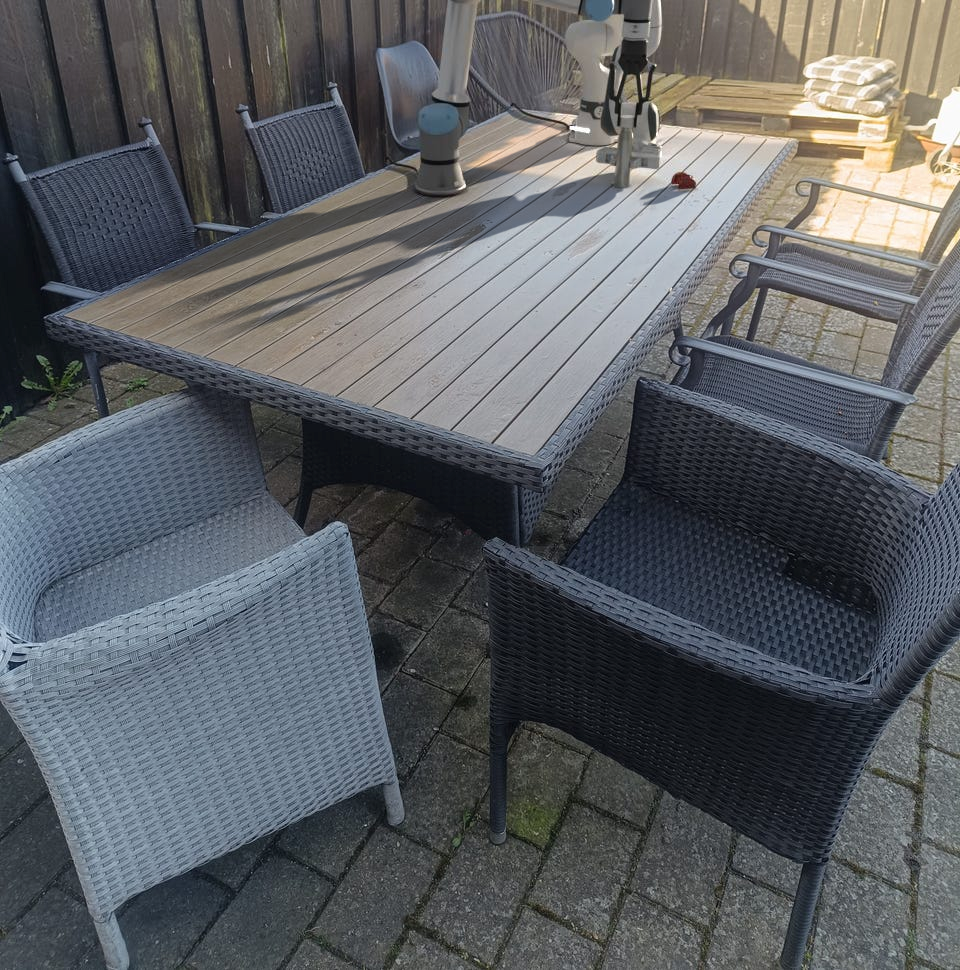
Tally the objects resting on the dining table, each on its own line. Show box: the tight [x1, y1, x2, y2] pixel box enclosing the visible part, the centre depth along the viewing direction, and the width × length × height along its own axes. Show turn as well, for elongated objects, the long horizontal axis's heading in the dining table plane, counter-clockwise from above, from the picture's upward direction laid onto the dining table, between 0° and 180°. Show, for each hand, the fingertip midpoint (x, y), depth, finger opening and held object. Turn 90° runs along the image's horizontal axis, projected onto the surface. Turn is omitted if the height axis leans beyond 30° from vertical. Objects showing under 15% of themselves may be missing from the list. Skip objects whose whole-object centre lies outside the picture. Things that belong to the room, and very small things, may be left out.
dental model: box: [670, 171, 697, 190], centre depth 260 cm, size 6×4×8 cm
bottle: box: [613, 127, 633, 189], centre depth 257 cm, size 5×5×19 cm
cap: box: [620, 115, 635, 128], centre depth 251 cm, size 4×4×3 cm
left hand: (626, 125), depth 252 cm, fingers closed on cap, 4 cm apart
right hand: (622, 164), depth 258 cm, fingers closed on bottle, 4 cm apart
